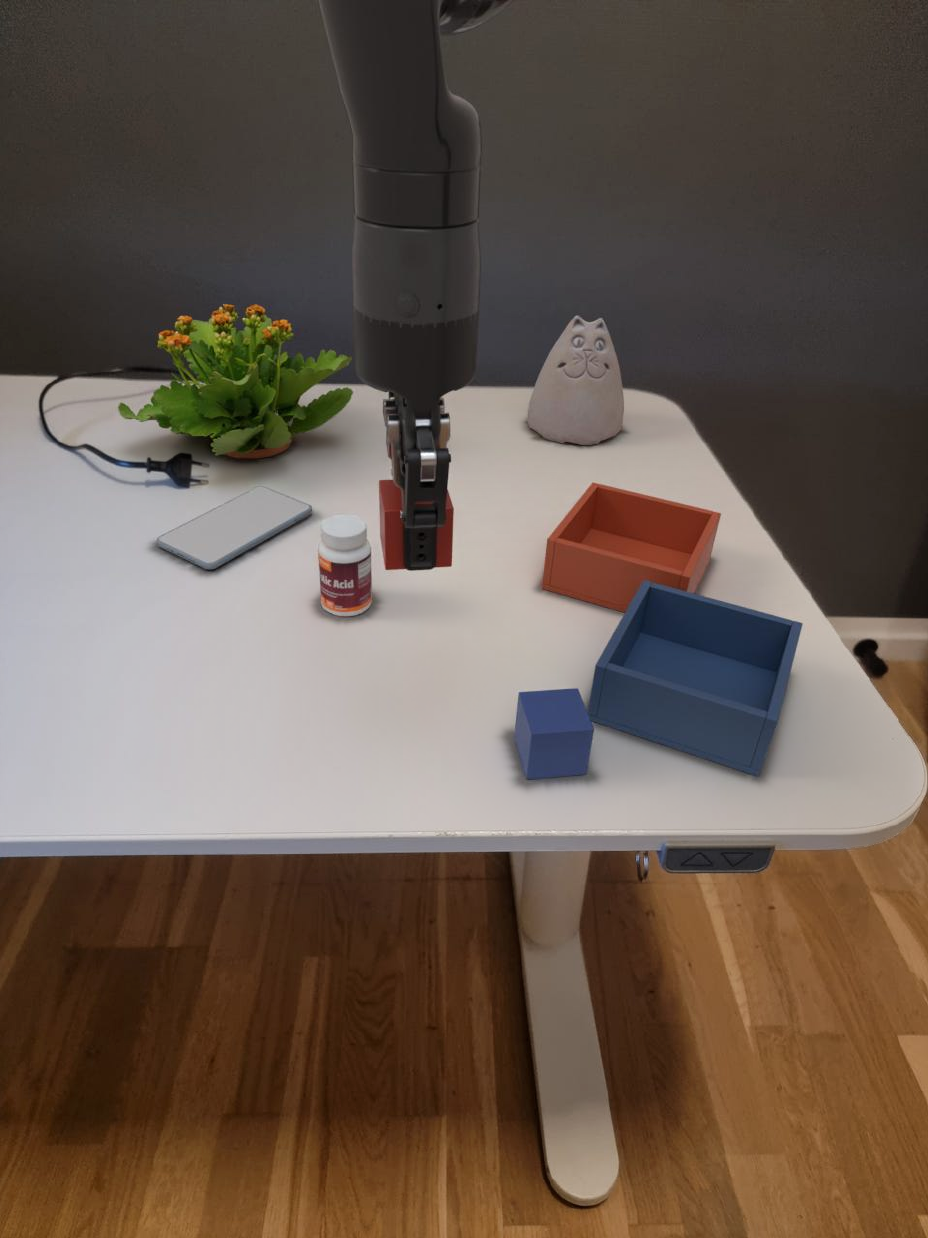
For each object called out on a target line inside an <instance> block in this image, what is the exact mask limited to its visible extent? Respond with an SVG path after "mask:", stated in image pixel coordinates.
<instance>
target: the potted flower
mask: <svg viewBox="0 0 928 1238" xmlns="http://www.w3.org/2000/svg"><path fill="white" fill-rule="evenodd" d="M222 305H223V307H222V306H219V308H218V309H217V310H214V311H213V312H212V314H210V318H209V319H208V321H202V320H197V319H193V318H192V317H191V316H188V315H180V316H179V317H177V318H176V319H177V321H175V323H174V329H175V330H176V331H175V330H168V329H166V330H163V331H160V332H159V333H158V334H157V335H158V341H157V345H156V347H157V348H158V349H164V350H165V352H167V353H169V354H170V355H171V357H172V358H173V359H172V361H173V364H174V365H175V367H176V368H177V369H178V372H179V374H180V376H181V378H182V379H181V378H180V377H179V376H178V375H176V374H175V373H173V372H171V375H172V376H173V377H174V378H175V379H176V380H175V379H173V380H171V381H170V383H169V386H170V387H169V386H166V385H163V384H161V385H160V386H159V388H157V389H156V390H154V391H153V393H152V396H151V397H150V403H146V404H145V405H143V408H140V409H139V410H138V412H137V414H135V412H133V410H132V409H131V408H130V407H129V405H126V403H123V402H119V404H118V406H117V411H118V412H119V415H120V416H121V417H122V418H123V419H125V420H133V419H134V420H136V421H138V422H140V423H145V422H148V421H155V422H156V423H157V424H158V427H159V428H161V429H170V433H173V434H175V435H179V434H180V435H186V436H192V437H207V436H209V438H211V440H212V442H211V443H210V446H211V447H212V449H211V451H212V452H213V453H215V454H214V456H220V455H224V456H228V457H232V458H234V459H247V460H249V459H250V460H253V459H264V458H270V457H274V456H276V455H279V454H282V453H284V452H285V451H286V450H288V449H289V448H290V446H291V444H292V439H294V437H295V435H299V434H304V433H308V432H311V431H314V430H316V429H318V428H320V427H321V426H323V425H324V424H326V423H327V422H329V421H330V420H332V419H333V418H335V416H336V415H338V414H339V413H341V411H343V410H344V408H345V407H346V406H347V405H348V404H349V403H350V401H351V399H352V396H353V394H354V391H353V389H352V388H349V387H342V388H341V387H337V388H335V389H334V390H332V389H331V390H329V391H328V392H326V394H324V393H322V394H321V395H320V396H318V398H313V400H312V401H311V402H309V403H308V404H307V406H306V405H302V406H301V405H300V404H299V402H300V399H301V397H302V396H303V395H304V394H305V393H306V392H307V391H308V390H310V389H311V388H313V387H314V386H316V385H317V384H319V383H320V382H321V381H323V380H324V379H326V378H328V377H330V376H332V375H334V374H335V373H337V372H339V371H340V370H342V369H343V368H345V367H347V366H349V365H350V364H351V362H352V359H353V357H352V356H349V357H348V355H344V354H339V355H338V357H337V352H336V351H334V350H333V349H330V350H328V351H327V352H326V350H325V349H321V350H320V352H319V356H318V357H317V359H316V360H315V358H314V357H312V356H311V357H310V356H309V357H307V358H306V359H305V361H304V357H303V355H302V353H301V352H297V353H296V354H295V356H294V357H291V356H289V355H288V352H287V351H286V350H285V351H283V352H282V345H283V344H284V343H285V342H287V341H289V340H291V339H292V338H293V337H294V333H292V330H293V329H292V326H291V325H292V324H291V323H289V321H288V320H287V319H280V320H278V319H277V320H276V319H275V320H274V321H272V318H270V317H268V316H267V315H266V314H265V312H266V309H265V308H264V307H263V306H262V305H259V304H257V303H256V304H252V305H250V306H248V307H246V311H245V317H243V318H242V323H243V324H244V325H245V327H244V328H243V330H238V331H237V327H234V324H235V323H236V320H237V319H238V318H239V315H238V313H237V312H235V311H236V309H235V308H236V306H235V305H232V304H227V303H225V304H224V303H223V304H222ZM277 352H278V354H277ZM276 354H277V355H276ZM182 356H183V357H184V358H185V359H186V362H188V363H190V364H188V368H189V369H190V371H192V372H194V374H195V375H197V376H196V378H197V379H196V378H195V377H194V376H193V375H192V374H191V373H190V371H188V369H187V368H186V365H185V361H183V360H182ZM276 360H277V361H276ZM185 374H186V375H187V376H188V377H189V378H190V379H191V380H187V378H186V376H185ZM200 382H201V383H200ZM289 422H291V423H290V425H289V424H288V423H289Z"/></svg>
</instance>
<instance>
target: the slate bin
mask: <svg viewBox="0 0 928 1238" xmlns="http://www.w3.org/2000/svg"><path fill="white" fill-rule="evenodd" d="M802 629H803V622H800V621H797V620H793V619H789V618H785V617H782V616H778V615H774V614H771V613H767V612H763V611H760V610H756V609H752V608H749V607H744V606H742V605H737V604H734V603H730V602H726V601H723V600H719V599H715V598H711V597H708V596H705V595H701V594H698V593H697V594H696V593H690V592H686V591H683V590H679V589H675V588H672V587H668V586H664V585H661V584H657V583H652V582H649V581H646V580H643V582H642V584H641V586H640V587H639V589H638V591H637V593H636V594H635V596H634V598H633V600H632V601H631V603H630V605H629V607H628V609H627V610H626V612H624V614H623V615H622V618H621V619H620V620H619V623H618V624H617V626H616V628H615V630H614V631H613V633H612V635H611V637H610V639H609V640H608V642H607V644H606V646H605V647H604V649H603V651H602V653H601V654H600V655H599V656H600V657H599V658H598V660H597V661H596V664H595V665H594V672H593V678H592V684H591V689H590V696H589V701H588V708H587V713H588V715H589V718H590V720H591V722H594V723H596V724H599V725H603V726H606V727H609V728H612V729H614V730H618V731H621V732H624V733H627V734H630V735H633V736H636V737H639V738H642V739H645V740H648V741H651V742H654V743H657V744H660V745H662V746H666V747H668V748H672V749H674V750H678V751H681V752H683V753H687V754H690V755H692V756H696V757H698V758H701V759H705V760H708V761H711V762H714V763H717V764H720V765H722V766H726V767H729V768H732V769H735V770H738V771H741V772H743V773H747V774H750V775H751V776H756V777H759V776H760V774H761V771H762V769H763V766H764V763H765V760H766V758H767V754H768V751H769V748H770V745H771V742H772V739H773V736H774V734H775V730H776V727H777V725H778V722H779V719H780V714H781V710H782V707H783V702H784V698H785V695H786V690H787V686H788V683H789V679H790V675H791V671H792V667H793V663H794V660H795V656H796V651H797V647H798V645H799V644H798V643H799V640H800V636H801V632H802Z"/></svg>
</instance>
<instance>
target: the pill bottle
mask: <svg viewBox="0 0 928 1238" xmlns="http://www.w3.org/2000/svg"><path fill="white" fill-rule="evenodd" d="M320 538H321V540H320V542H319V544H318V548H317V556H318V557H317V558H318V568H319V569H318V570H319V571H318V574H319V575H318V576H319V589H320V592H319V593H320V603H321V607H322V608H323V609H324V610H325V611H326V612H328V613H330V614H332V615H334V616H337V617H353V616H357V615H359V614H360V615H361V614H362V613H364V612H366V611H367V610H368V609H369V608H370V607H371V606H372V602H373V588H372V587H373V585H372V583H373V581H372V580H373V579H372V578H373V577H372V576H373V575H372V545H371V543H370V541H369V539H368V526H367V523H366V521H365V520H364V519H363V518H362V517H360V516H357V515H354V514H347V513H346V514H345V513H343V514H335V515H331V516H329V517H326V518H325V519H324V520H323V521H322V522H321V524H320Z"/></svg>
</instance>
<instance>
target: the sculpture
mask: <svg viewBox="0 0 928 1238" xmlns="http://www.w3.org/2000/svg"><path fill="white" fill-rule="evenodd" d="M610 334H611V333H610V332H609V330H608V328H607V325H606V323H605V321H604V319H603V318H602V317H599V318H597V319H596V320H594V321H586V320H584V319H583V318H582V317H581V316H580V315H575V316H574V317H573V318H572V319H571V320H570V321H569V323H568V324H567V325H566V327H565V329H564V330H563V331H562V333H561V334H560V336H559V338H558V339H557V341H556V342H555V343H554V345H553V346H552V347H551V349H550V351H549V353H548V355H547V357H546V360H545V361H544V364H543V366H542V368H541V369H540V372H539V374H538V376H537V378H536V379H537V380H536V382H535V384H534V388H533V390H532V393H531V396H530V399H529V402H528V407H527V425H528V427H529V428H530V429H532V430H534V431H535V432H537V433H538V434H540V435H541V436H542V437H543V439H545V440H547V441H552V442H555V443H560V444H565V443H571V444H577V445H579V446H592V445H598V444H600V443H601V441H606V440H608V439H610V438H613V437H616V435H618V433H620V432H622V429H623V421H624V412H625V397H624V389H623V380H622V374H621V369H620V368H621V367H620V364H619V363H620V362H619V360H618V355H617V353H616V350H615V346H614V343H613V341H612V338H611V335H610ZM538 439H541V438H538Z"/></svg>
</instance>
